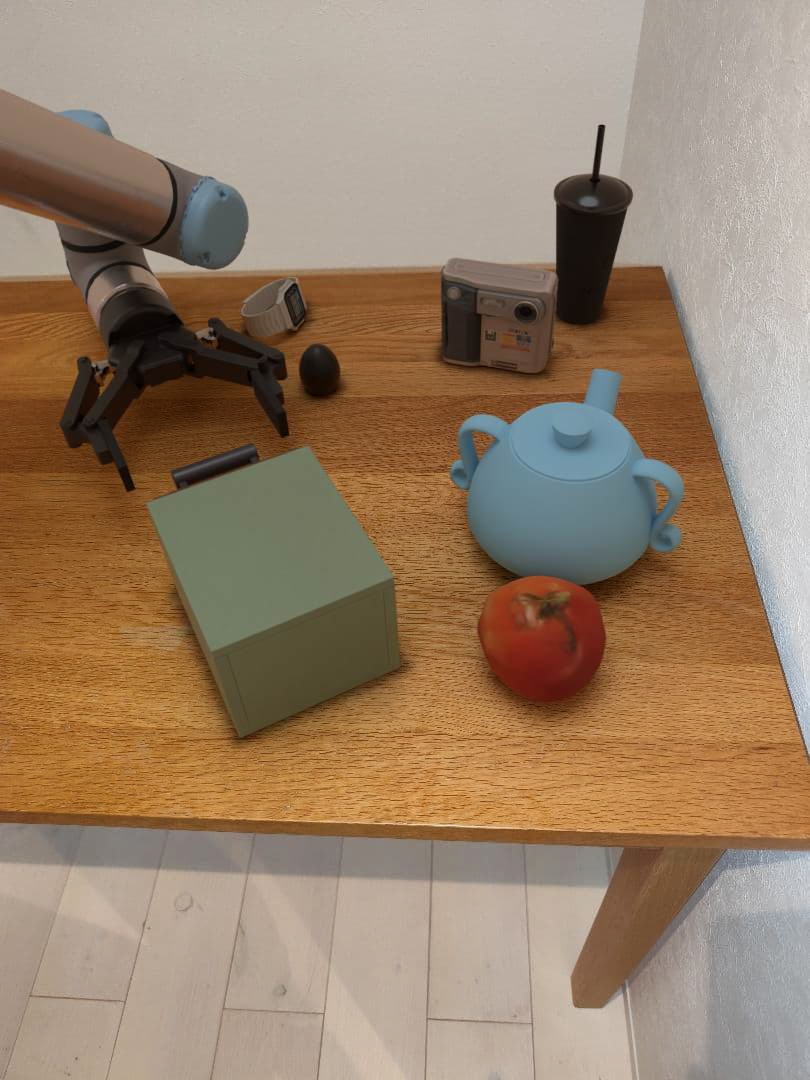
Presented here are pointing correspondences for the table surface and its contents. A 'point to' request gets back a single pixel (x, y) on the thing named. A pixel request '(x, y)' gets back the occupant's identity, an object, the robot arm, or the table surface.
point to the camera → (497, 315)
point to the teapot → (566, 489)
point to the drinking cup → (587, 238)
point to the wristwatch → (275, 308)
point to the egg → (319, 369)
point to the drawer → (216, 467)
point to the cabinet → (279, 587)
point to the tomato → (542, 637)
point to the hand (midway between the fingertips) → (207, 451)
